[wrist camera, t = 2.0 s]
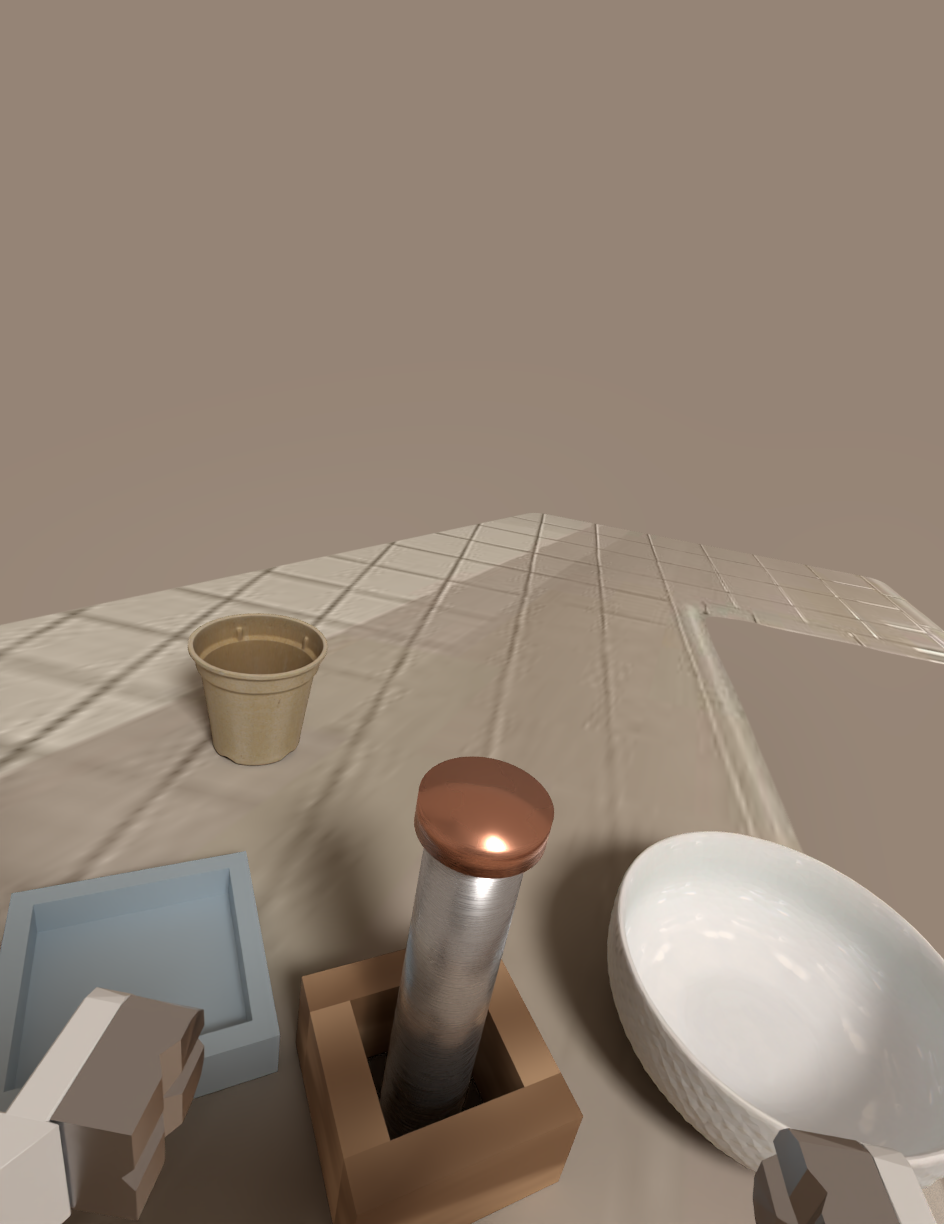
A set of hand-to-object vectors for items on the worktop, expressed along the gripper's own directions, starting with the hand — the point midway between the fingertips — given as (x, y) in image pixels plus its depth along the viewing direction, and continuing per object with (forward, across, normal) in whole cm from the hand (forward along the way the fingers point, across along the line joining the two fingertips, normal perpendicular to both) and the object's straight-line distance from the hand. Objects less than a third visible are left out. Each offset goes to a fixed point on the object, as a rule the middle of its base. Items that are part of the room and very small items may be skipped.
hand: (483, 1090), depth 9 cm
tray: (+15, +14, +22) cm, 30 cm away
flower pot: (+35, +17, +22) cm, 45 cm away
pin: (+12, 0, +22) cm, 25 cm away
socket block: (+12, 0, +22) cm, 25 cm away
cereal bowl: (+18, -16, +22) cm, 33 cm away
